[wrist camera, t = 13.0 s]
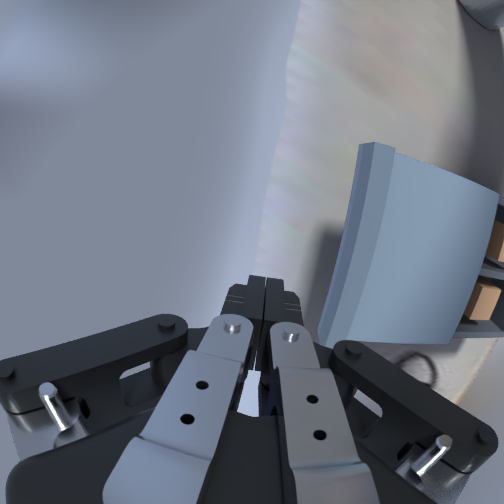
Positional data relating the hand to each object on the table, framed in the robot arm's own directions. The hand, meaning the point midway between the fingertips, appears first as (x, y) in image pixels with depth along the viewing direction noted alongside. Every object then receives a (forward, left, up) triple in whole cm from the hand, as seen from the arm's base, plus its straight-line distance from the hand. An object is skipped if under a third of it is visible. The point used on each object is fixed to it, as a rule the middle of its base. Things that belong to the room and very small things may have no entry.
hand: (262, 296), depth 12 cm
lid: (0, +13, -10) cm, 16 cm away
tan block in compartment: (+3, +26, -16) cm, 31 cm away
